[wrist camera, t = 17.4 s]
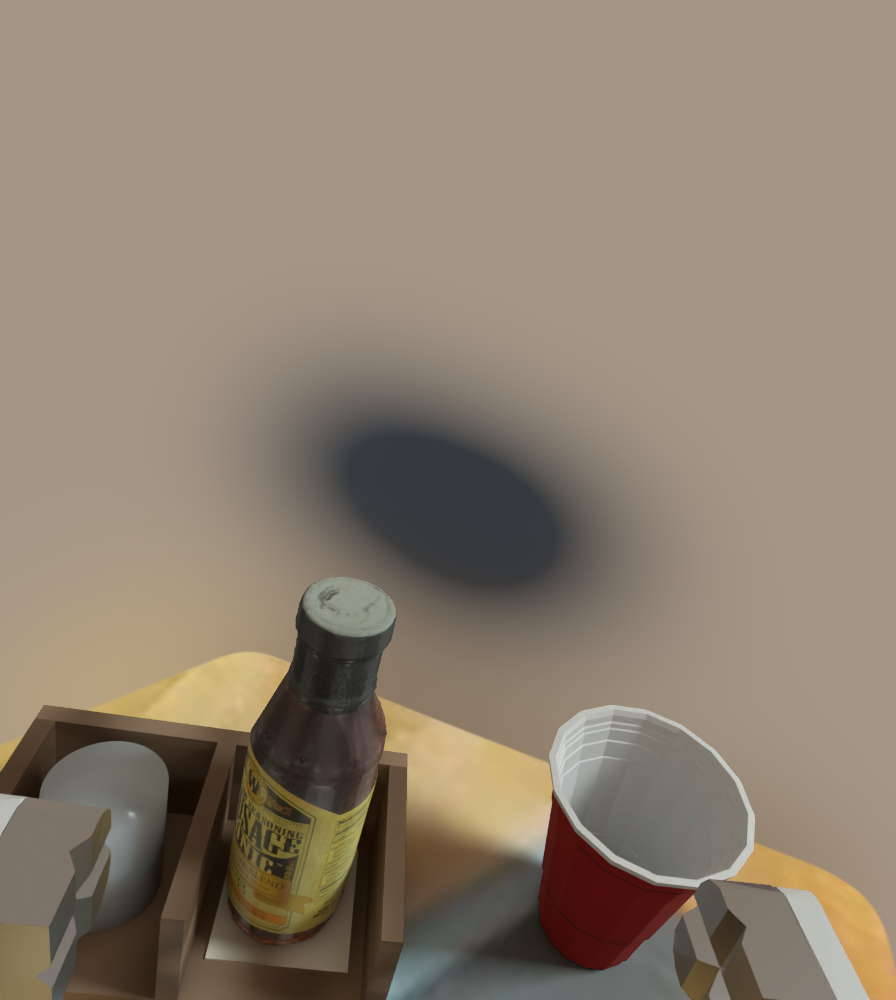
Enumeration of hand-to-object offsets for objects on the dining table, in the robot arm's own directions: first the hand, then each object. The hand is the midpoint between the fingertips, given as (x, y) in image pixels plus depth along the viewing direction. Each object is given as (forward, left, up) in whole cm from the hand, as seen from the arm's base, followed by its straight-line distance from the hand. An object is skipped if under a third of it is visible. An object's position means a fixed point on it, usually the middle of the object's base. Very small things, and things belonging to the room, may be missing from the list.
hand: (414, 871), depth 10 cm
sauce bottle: (-1, +19, -29) cm, 35 cm away
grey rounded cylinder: (-11, +19, -29) cm, 36 cm away
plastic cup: (+16, +20, -30) cm, 40 cm away
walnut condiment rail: (-6, +19, -30) cm, 36 cm away
